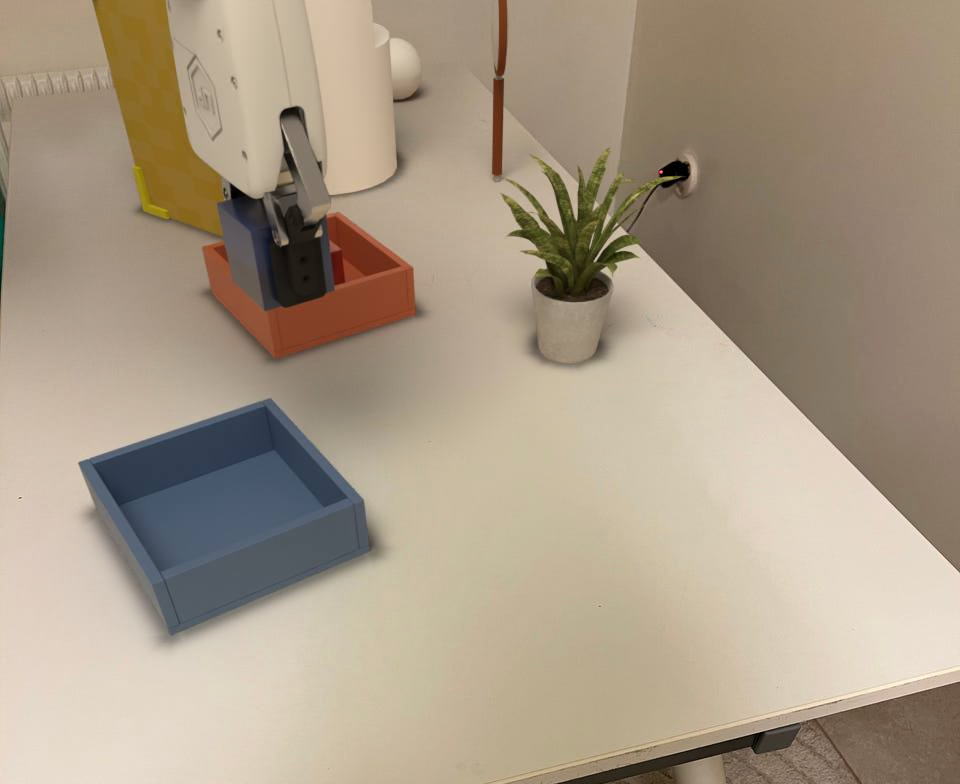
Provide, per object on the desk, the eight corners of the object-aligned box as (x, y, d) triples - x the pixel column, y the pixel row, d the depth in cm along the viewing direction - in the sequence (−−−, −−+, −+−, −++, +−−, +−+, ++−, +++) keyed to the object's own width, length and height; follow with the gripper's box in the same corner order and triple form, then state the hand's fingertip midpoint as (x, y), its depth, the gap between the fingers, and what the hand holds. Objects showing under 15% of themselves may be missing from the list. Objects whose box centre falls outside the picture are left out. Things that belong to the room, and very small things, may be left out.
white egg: (423, 90, 130) (421, 30, 125) (422, 107, 125) (420, 46, 120) (354, 90, 130) (349, 30, 124) (350, 108, 125) (345, 46, 119)
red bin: (276, 360, 80) (266, 310, 77) (212, 295, 88) (201, 246, 85) (416, 316, 86) (413, 267, 82) (343, 258, 94) (338, 211, 90)
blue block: (265, 312, 56) (250, 231, 53) (231, 280, 59) (216, 202, 56) (335, 291, 58) (326, 212, 55) (300, 261, 61) (289, 184, 57)
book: (143, 212, 101) (70, -66, 83) (188, 192, 105) (127, -78, 87) (252, 251, 95) (199, -41, 76) (296, 229, 99) (255, -55, 80)
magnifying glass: (506, 197, 105) (512, -11, 90) (492, 197, 105) (495, -10, 90) (501, 168, 111) (505, -31, 96) (487, 168, 110) (489, -31, 96)
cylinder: (339, 208, 102) (305, -109, 82) (225, 176, 108) (166, -127, 88) (424, 160, 112) (414, -134, 92) (315, 133, 118) (282, -148, 98)
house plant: (628, 301, 88) (652, 117, 76) (678, 376, 79) (715, 180, 67) (486, 316, 86) (487, 129, 74) (521, 394, 77) (529, 196, 65)
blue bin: (171, 638, 58) (151, 584, 54) (98, 515, 66) (77, 461, 62) (370, 553, 63) (364, 499, 60) (280, 449, 71) (270, 397, 68)
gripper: (96, -88, 48) (177, 248, 62) (227, -22, 39) (289, 357, 53) (226, -102, 51) (276, 222, 65) (377, -43, 42) (399, 321, 55)
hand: (281, 279), depth 58 cm, fingers closed on blue block, 5 cm apart
